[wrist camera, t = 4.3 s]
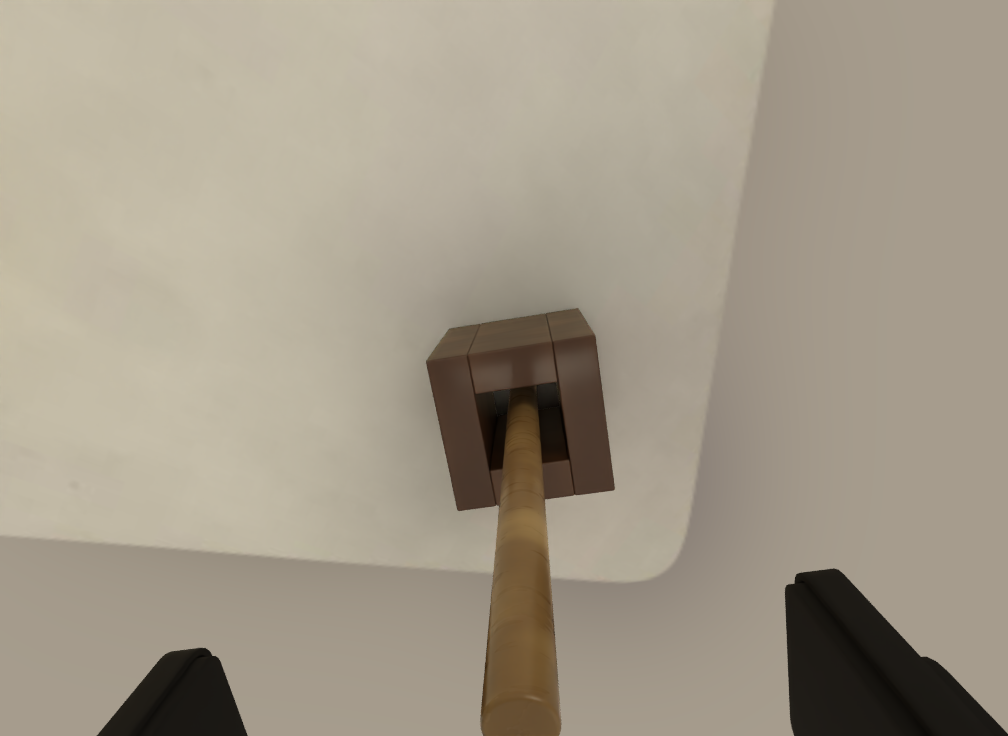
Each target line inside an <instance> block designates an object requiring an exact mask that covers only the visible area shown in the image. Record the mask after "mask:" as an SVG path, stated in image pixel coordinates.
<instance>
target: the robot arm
mask: <svg viewBox="0 0 1008 736" xmlns="http://www.w3.org/2000/svg"><path fill="white" fill-rule="evenodd" d="M785 602H786V603H785V605H786V629H787V653H788V677H789V701H790V720H791V725H792V730H793V733H794V736H1008V734H1007V733H1006V732H1005V731H1004V729H1003V728H1002V727H1001V726H1000V725H999V724H998V723H997V722H996V721H995V720H994V719H993V718H992V717H991V716H990V715H989V714H988V713H987V712H986V711H985V710H984V709H983V708H982V707H981V706H980V704H978V702H977V701H976V700H974V698H973V697H972V696H971V695H970V694H969V693H968V692H967V691H966V690H965V689H964V688H963V687H962V686H961V685H960V684H959V683H958V682H957V681H956V680H955V679H954V677H953V676H952V675H951V674H950V673H949V672H948V671H947V670H945V669H944V668H943V667H942V666H941V665H940V664H939V663H937V662H936V661H934V660H932V659H930V658H928V657H920V656H919V655H918V654H917V652H916V651H915V650H914V649H913V648H912V647H911V646H910V645H909V644H908V643H907V642H906V641H905V639H904V638H903V637H902V636H901V635H900V634H899V633H898V632H897V631H896V630H895V629H894V628H893V627H892V626H891V625H890V623H889V622H888V621H887V620H886V619H885V618H884V617H883V616H882V615H881V614H880V613H879V612H878V611H877V610H876V608H875V607H874V606H873V605H872V604H871V603H870V602H869V601H868V600H867V599H866V598H865V597H864V595H863V594H862V593H861V592H860V591H859V590H858V589H857V588H856V587H855V586H854V585H853V584H852V583H851V582H850V580H849V579H847V577H846V576H845V575H844V574H843V573H842V572H840V571H839V570H837V569H827V570H819V571H812V572H803V573H799V574H796V577H795V584H789V585H787V586H786V588H785ZM97 736H247V733H246V730H245V728H244V725H243V722H242V719H241V717H240V714H239V711H238V708H237V705H236V703H235V700H234V697H233V695H232V692H231V689H230V686H229V684H228V681H227V679H226V676H225V673H224V670H223V667H222V665H221V662H220V660H219V658H217V657H216V656H212V654H211V652H210V651H209V650H207V649H206V648H196V649H188V650H180V651H172V652H169V653H167V654H165V655H164V656H163V657H162V658H161V659H160V660H159V661H158V662H157V664H156V665H155V666H154V667H153V668H152V670H151V671H150V672H149V673H148V674H147V676H146V677H145V678H144V679H143V681H142V682H141V683H140V684H139V685H138V687H137V688H136V689H135V691H134V692H133V693H132V694H131V695H130V696H129V698H128V699H127V700H126V701H125V702H124V704H123V705H122V706H121V707H120V708H119V710H118V711H117V712H116V713H115V715H114V716H113V717H112V718H111V720H110V721H109V722H108V723H107V724H106V725H105V727H104V728H103V729H102V730H101V731H100V733H99V734H98V735H97Z"/></svg>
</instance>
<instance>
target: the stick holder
mask: <svg viewBox="0 0 1008 736" xmlns="http://www.w3.org/2000/svg"><path fill="white" fill-rule="evenodd" d="M426 364H427V369H428V373H429V378H430V383H431V388H432V392H433V397H434V402H435V407H436V411H437V416H438V421H439V425H440V430H441V435H442V440H443V444H444V449H445V454H446V458H447V463H448V468H449V473H450V477H451V482H452V487H453V491H454V496H455V501H456V506H457V510H458V511H462V510H470V509H477V508H485V507H492V506H496V505H497V506H499V504H500V493H501V482H502V470H503V459H504V448H505V437H506V425H507V414H504V415H498V417H497V411H496V406H495V400H494V395H493V392H494V391H500V390H507V389H514V388H520V387H527V386H534V385H540V384H547V383H554V382H556V386H557V393H558V400H559V406H560V407H552V408H545V409H538V414H539V427H540V441H541V455H542V468H543V482H544V495H545V499H551V498H559V497H566V496H573V495H574V494H575V495H583V494H590V493H598V492H605V491H613V490H615V486H614V478H613V470H612V463H611V455H610V447H609V439H608V431H607V423H606V415H605V408H604V400H603V392H602V384H601V376H600V368H599V360H598V353H597V345H596V337H595V334H594V333H593V331H592V330H591V328H590V326H589V325H588V323H587V322H586V320H585V318H584V317H583V315H582V314H581V312H580V311H579V309H578V308H576V309H570V310H563V311H557V312H551V313H546V314H539V315H532V316H526V317H520V318H514V319H507V320H501V321H495V322H489V323H482V324H481V325H480V324H476V325H470V326H464V327H457V328H451V329H449V330H448V331H447V333H446V334H445V336H444V337H443V338H442V340H441V341H440V343H439V344H438V345H437V347H436V348H435V350H434V351H433V352H432V354H431V355H430V357H429V358H428V359H427V361H426Z"/></svg>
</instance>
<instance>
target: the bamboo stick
mask: <svg viewBox="0 0 1008 736" xmlns="http://www.w3.org/2000/svg"><path fill="white" fill-rule="evenodd" d="M486 651H487V652H486V662H485V674H484V684H483V696H482V707H481V718H480V726H481V730H482V733H483V736H559V734H560V731H561V713H560V699H559V686H558V672H557V659H556V645H555V632H554V619H553V604H552V591H551V577H550V563H549V550H548V536H547V523H546V509H545V495H544V482H543V468H542V455H541V441H540V427H539V414H538V400H537V387H536V385H534V386H527V387H520V388H514V389H510V392H509V403H508V414H507V425H506V437H505V448H504V459H503V470H502V482H501V493H500V504H499V515H498V527H497V538H496V549H495V560H494V572H493V584H492V594H491V605H490V617H489V629H488V639H487V650H486Z"/></svg>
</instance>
